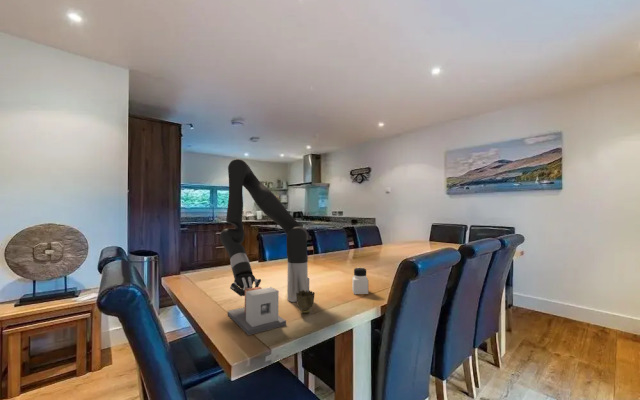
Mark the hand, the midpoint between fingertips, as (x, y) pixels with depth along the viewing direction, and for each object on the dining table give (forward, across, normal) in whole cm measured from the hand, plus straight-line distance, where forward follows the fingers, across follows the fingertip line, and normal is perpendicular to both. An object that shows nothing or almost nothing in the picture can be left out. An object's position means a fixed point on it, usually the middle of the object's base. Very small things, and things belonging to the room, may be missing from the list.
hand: (251, 303), depth 108 cm
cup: (+10, +19, -3) cm, 22 cm away
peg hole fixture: (+6, 0, +1) cm, 6 cm away
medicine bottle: (+5, +56, +2) cm, 56 cm away
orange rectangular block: (+6, 0, -2) cm, 7 cm away
